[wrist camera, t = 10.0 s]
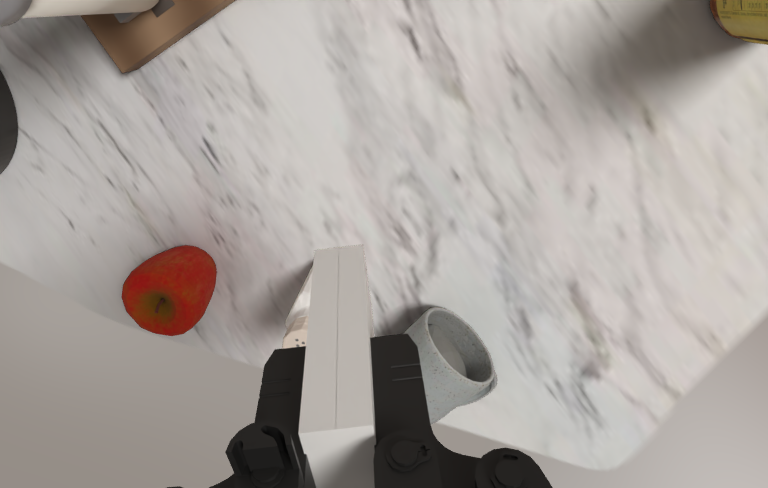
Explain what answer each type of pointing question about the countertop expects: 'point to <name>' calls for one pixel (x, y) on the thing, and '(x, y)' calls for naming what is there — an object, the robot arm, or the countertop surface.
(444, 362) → the ceramic mug
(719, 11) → the sauce bottle
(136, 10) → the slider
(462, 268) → the countertop surface
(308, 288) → the salt shaker
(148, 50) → the brown wooden board
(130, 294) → the apple
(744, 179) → the countertop surface
